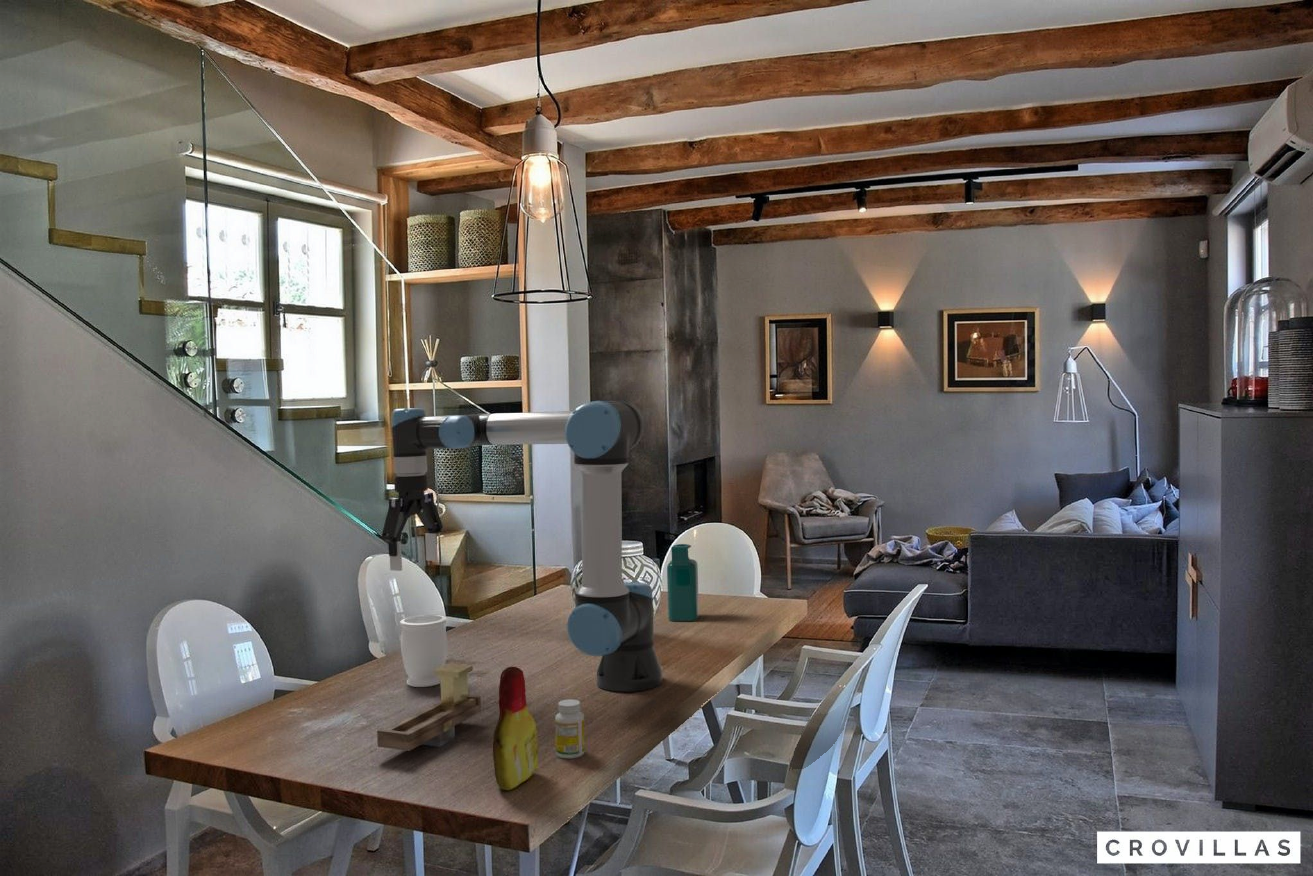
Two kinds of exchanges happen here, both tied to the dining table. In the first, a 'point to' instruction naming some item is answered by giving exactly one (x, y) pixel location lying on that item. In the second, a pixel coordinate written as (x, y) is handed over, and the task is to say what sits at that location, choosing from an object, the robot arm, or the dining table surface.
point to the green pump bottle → (682, 585)
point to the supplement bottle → (569, 730)
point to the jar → (423, 648)
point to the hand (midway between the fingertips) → (414, 565)
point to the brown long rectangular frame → (428, 726)
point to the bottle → (514, 733)
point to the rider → (453, 684)
